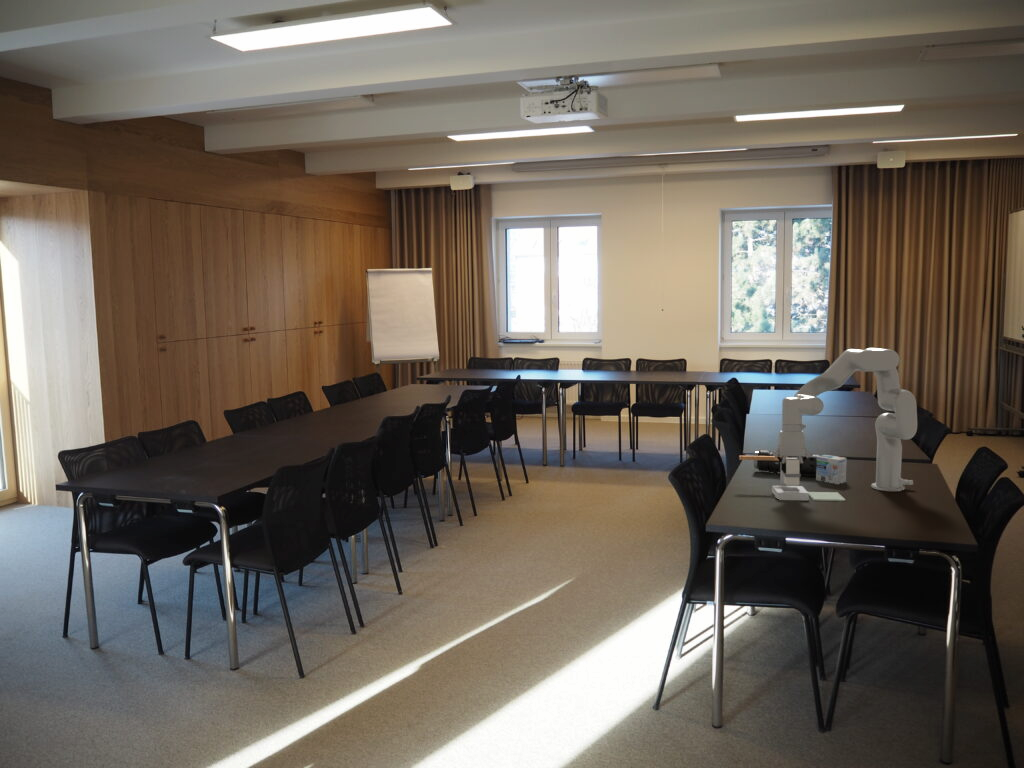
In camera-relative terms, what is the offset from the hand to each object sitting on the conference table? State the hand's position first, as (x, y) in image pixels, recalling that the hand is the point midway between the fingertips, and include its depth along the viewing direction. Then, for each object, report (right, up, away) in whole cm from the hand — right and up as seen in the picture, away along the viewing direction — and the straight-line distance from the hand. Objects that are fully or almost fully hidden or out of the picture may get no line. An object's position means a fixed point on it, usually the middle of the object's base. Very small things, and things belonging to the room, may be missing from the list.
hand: (791, 472), depth 342 cm
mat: (+14, -10, -1) cm, 17 cm away
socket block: (0, -9, +6) cm, 11 cm away
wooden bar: (-7, +4, +15) cm, 17 cm away
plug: (0, -5, +1) cm, 5 cm away
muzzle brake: (+12, -6, +42) cm, 44 cm away
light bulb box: (+26, -7, +27) cm, 38 cm away
